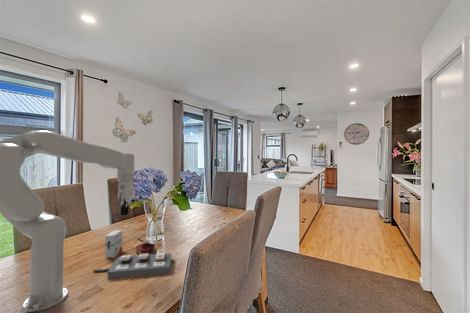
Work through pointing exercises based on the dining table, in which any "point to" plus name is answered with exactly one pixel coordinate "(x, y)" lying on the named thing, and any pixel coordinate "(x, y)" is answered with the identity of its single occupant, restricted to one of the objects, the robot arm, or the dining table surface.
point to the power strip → (138, 267)
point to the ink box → (113, 244)
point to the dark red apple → (145, 248)
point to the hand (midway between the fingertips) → (124, 214)
